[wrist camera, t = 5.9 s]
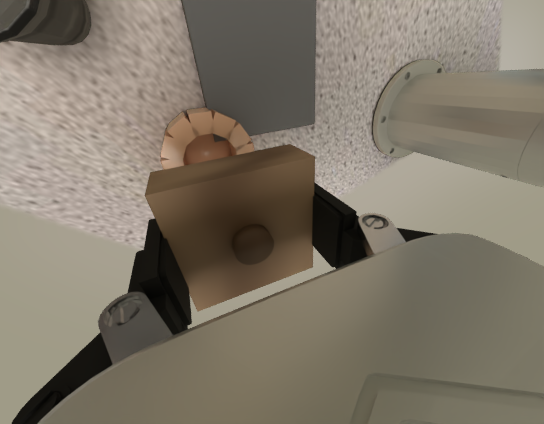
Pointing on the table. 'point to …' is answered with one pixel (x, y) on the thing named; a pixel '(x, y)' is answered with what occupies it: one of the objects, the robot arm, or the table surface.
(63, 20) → the beverage cup
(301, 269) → the lid
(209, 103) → the mat
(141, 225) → the table surface
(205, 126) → the bowl
